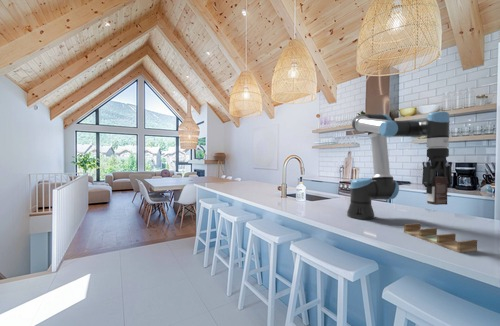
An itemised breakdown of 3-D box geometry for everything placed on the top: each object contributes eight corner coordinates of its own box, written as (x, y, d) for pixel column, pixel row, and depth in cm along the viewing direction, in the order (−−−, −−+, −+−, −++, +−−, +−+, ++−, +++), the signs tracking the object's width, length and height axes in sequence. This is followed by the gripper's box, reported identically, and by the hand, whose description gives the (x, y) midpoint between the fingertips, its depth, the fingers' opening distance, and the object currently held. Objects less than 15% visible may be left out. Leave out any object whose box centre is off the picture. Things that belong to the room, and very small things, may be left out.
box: (437, 203, 104) (438, 176, 104) (447, 205, 99) (448, 176, 99) (425, 203, 103) (426, 176, 103) (435, 205, 98) (436, 176, 98)
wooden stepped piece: (403, 232, 112) (404, 224, 112) (418, 231, 114) (419, 223, 114) (459, 252, 89) (459, 242, 89) (477, 250, 91) (477, 240, 91)
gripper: (428, 147, 95) (427, 203, 95) (464, 147, 99) (463, 201, 100) (411, 148, 102) (411, 200, 103) (445, 148, 107) (445, 198, 107)
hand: (436, 200), depth 101 cm, fingers closed on box, 6 cm apart
